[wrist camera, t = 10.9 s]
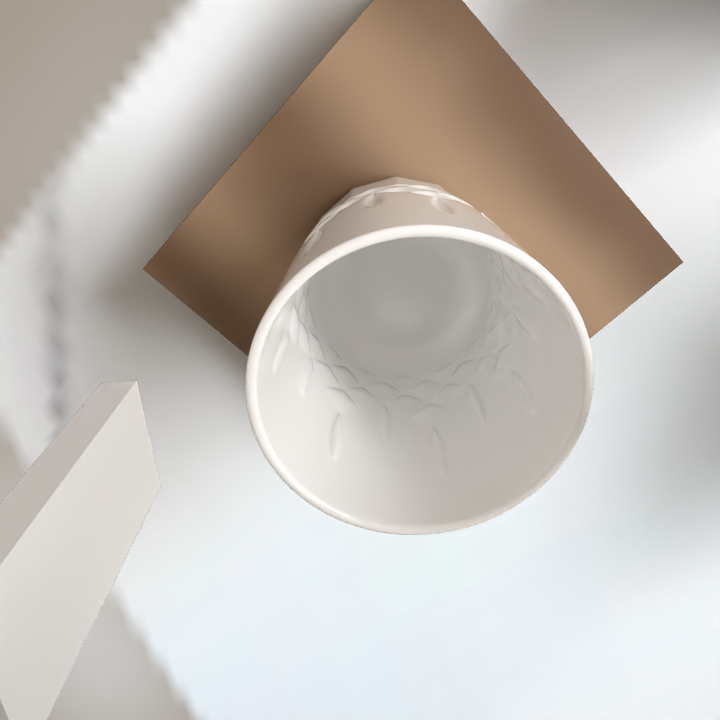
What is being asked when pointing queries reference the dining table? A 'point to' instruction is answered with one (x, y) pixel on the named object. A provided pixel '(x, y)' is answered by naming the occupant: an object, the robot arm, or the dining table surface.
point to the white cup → (417, 365)
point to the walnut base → (413, 170)
